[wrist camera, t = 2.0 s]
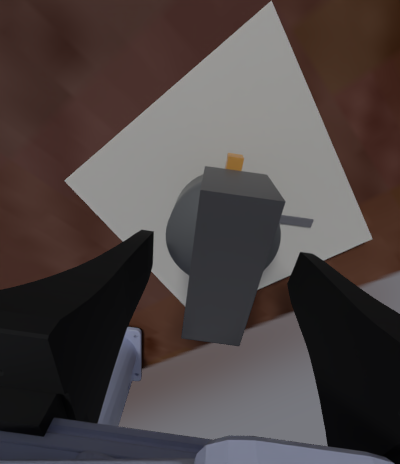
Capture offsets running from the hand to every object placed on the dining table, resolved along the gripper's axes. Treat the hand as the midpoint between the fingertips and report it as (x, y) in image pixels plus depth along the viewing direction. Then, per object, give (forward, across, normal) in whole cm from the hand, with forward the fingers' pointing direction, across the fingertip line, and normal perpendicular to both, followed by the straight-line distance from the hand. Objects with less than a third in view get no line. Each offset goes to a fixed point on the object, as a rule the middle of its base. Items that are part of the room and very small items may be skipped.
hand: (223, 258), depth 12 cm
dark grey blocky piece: (+5, 0, 0) cm, 5 cm away
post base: (+7, 0, 0) cm, 7 cm away
